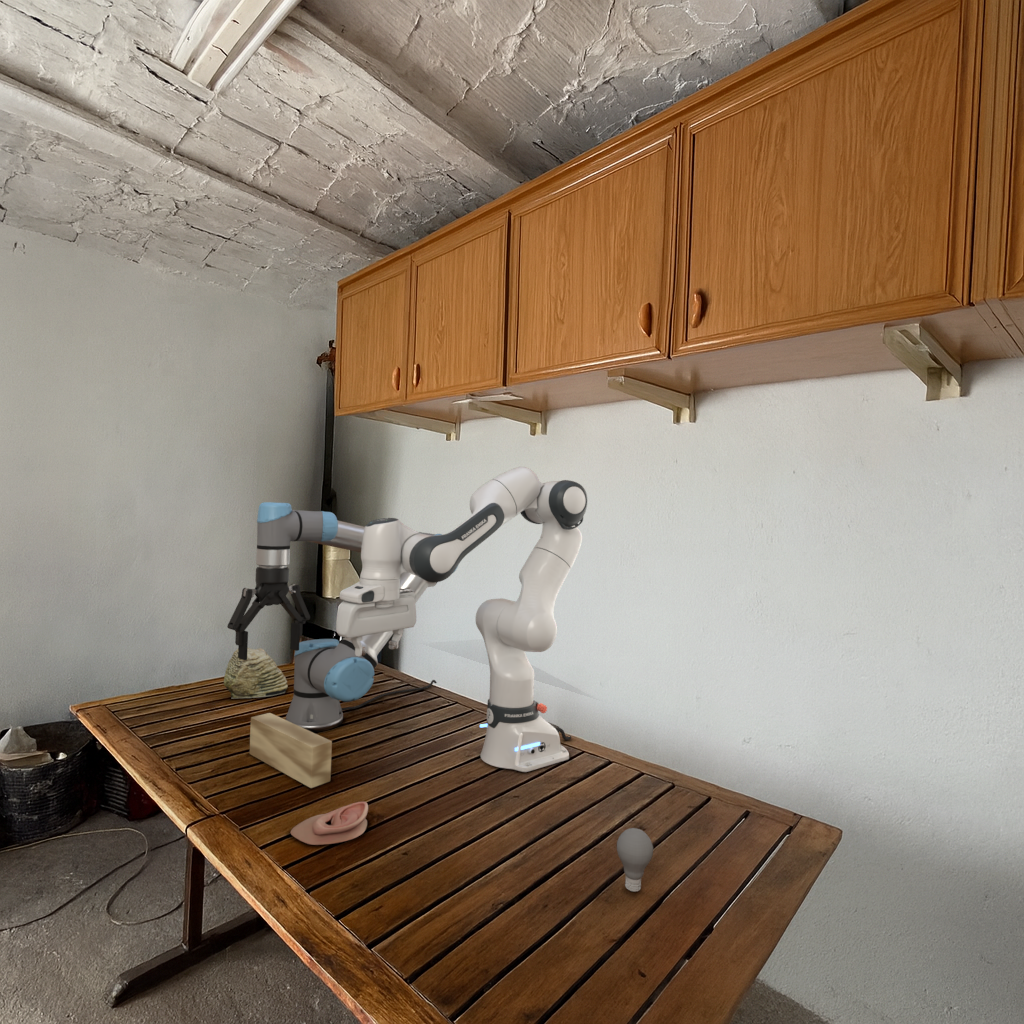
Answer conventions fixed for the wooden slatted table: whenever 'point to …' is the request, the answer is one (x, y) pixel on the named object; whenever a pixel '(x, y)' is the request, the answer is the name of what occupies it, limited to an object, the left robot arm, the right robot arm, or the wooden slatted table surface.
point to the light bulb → (634, 856)
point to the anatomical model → (333, 825)
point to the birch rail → (291, 749)
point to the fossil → (254, 676)
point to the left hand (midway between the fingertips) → (269, 654)
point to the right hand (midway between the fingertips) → (377, 652)
